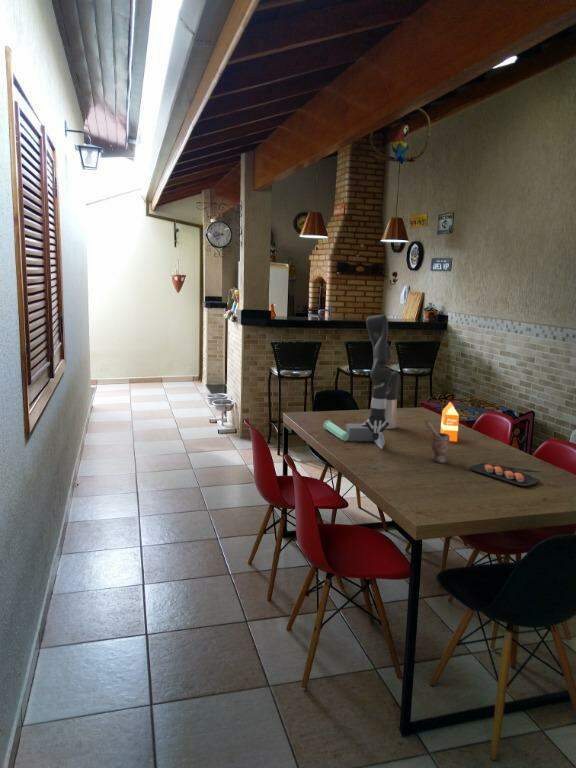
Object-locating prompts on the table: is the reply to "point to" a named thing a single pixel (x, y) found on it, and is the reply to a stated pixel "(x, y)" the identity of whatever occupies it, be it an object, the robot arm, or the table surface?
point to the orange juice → (450, 422)
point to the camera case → (359, 432)
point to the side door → (380, 440)
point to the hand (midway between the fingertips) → (375, 439)
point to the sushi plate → (506, 474)
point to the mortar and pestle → (438, 443)
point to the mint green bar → (336, 430)
